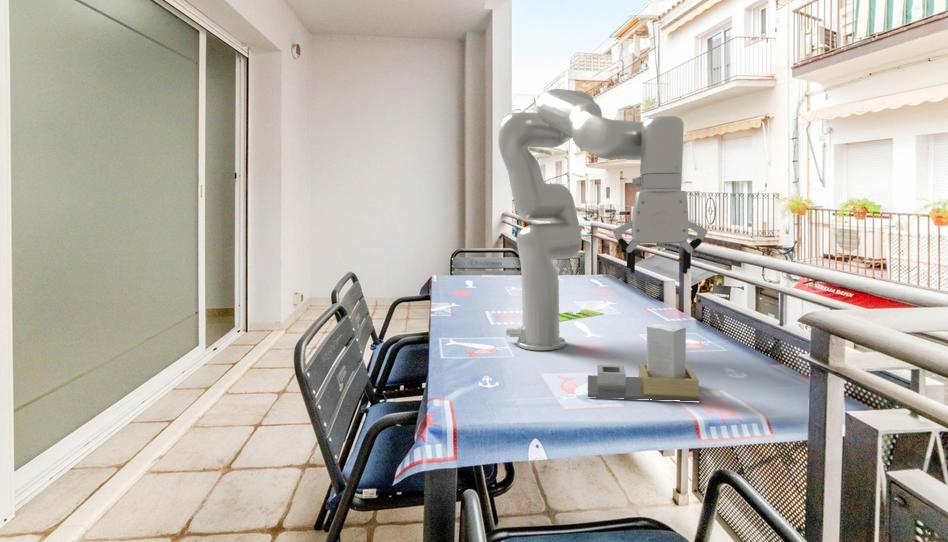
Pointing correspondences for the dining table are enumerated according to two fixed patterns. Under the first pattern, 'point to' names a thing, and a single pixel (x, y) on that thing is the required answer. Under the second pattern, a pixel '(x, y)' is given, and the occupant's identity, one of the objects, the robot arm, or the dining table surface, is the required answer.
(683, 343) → the skincare box
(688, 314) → the dining table surface
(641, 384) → the plate
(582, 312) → the door hanger
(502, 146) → the robot arm
